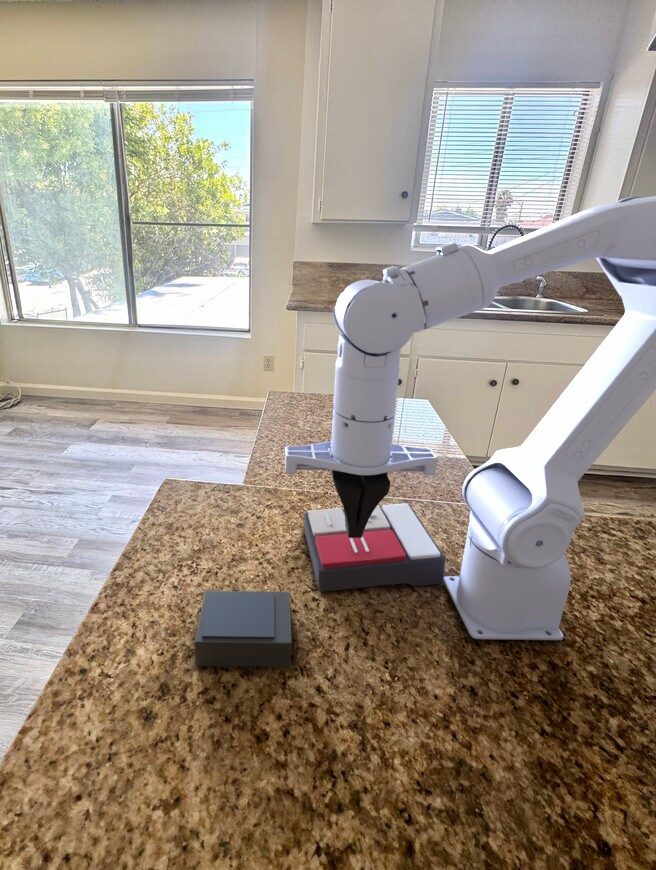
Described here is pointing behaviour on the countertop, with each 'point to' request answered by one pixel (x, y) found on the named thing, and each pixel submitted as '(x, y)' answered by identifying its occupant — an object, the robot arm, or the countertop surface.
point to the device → (244, 629)
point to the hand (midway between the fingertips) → (353, 531)
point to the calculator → (372, 549)
